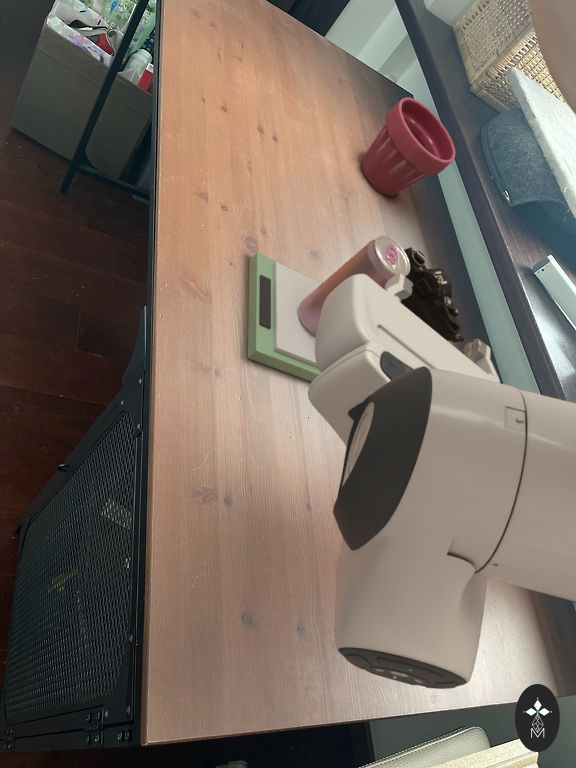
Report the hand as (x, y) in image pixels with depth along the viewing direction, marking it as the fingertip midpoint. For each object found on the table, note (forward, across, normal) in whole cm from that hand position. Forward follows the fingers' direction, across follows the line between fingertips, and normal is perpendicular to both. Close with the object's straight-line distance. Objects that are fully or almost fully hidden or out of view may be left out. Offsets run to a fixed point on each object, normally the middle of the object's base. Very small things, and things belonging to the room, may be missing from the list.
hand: (439, 314), depth 52 cm
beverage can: (+19, -1, +25) cm, 32 cm away
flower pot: (+67, -7, +28) cm, 73 cm away
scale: (+19, -1, +28) cm, 34 cm away
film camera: (+38, -18, +28) cm, 51 cm away
